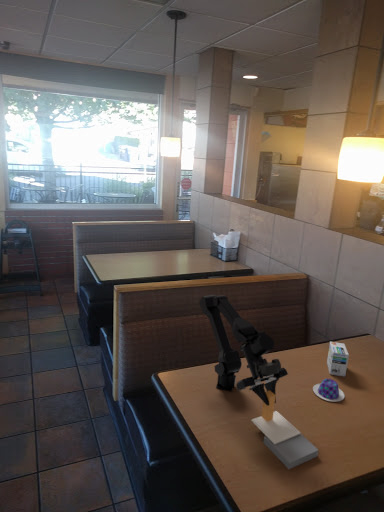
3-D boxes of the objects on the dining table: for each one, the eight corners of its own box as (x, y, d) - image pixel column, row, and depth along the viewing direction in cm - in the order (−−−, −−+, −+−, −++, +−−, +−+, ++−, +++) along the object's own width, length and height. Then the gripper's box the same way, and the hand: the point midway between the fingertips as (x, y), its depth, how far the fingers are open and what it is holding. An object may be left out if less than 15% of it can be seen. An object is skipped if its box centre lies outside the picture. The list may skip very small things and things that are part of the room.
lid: (251, 420, 130) (254, 395, 127) (276, 412, 135) (279, 387, 132) (274, 444, 120) (278, 417, 117) (300, 434, 125) (304, 407, 122)
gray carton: (263, 442, 124) (264, 436, 123) (291, 431, 130) (291, 425, 129) (288, 469, 114) (289, 462, 113) (317, 456, 120) (318, 449, 119)
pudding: (307, 393, 152) (309, 381, 151) (320, 381, 161) (322, 370, 159) (336, 407, 144) (338, 395, 143) (348, 394, 153) (351, 382, 151)
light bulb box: (345, 377, 164) (349, 354, 161) (329, 374, 165) (333, 352, 163) (341, 364, 174) (345, 343, 171) (326, 362, 176) (329, 341, 173)
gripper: (244, 358, 124) (262, 407, 118) (287, 347, 133) (306, 392, 126) (228, 367, 133) (244, 413, 126) (270, 356, 141) (287, 399, 135)
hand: (271, 404), depth 128 cm, fingers closed on lid, 2 cm apart
